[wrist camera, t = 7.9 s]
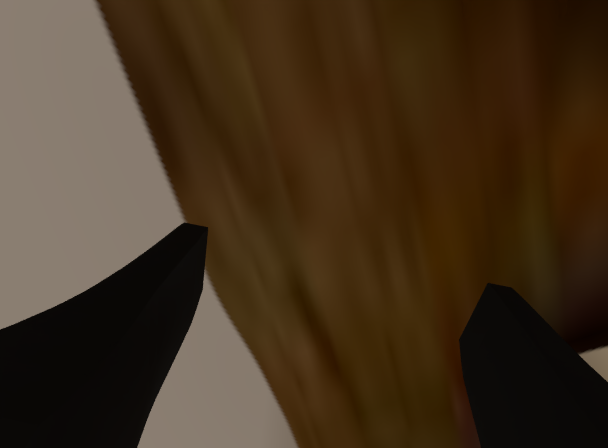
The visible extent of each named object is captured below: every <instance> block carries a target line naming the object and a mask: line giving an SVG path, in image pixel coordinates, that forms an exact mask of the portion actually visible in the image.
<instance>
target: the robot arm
mask: <svg viewBox="0 0 608 448" xmlns="http://www.w3.org/2000/svg"><path fill="white" fill-rule="evenodd" d="M207 235H208V227H204V226H199V225H194V224H189V223H183V224H181V225H180V226H178V227H177V228H176V229H175V230H173V231H172V232H171V233H169V234H168V235H167V236H165V237H164V238H163V239H162V240H160V241H159V242H158V243H156V244H155V245H154V246H152V247H151V248H150V249H149V250H147V251H146V252H144V253H143V254H142V255H140V256H139V257H137V258H136V259H135V260H133V261H132V262H130V263H129V264H128V265H126V266H125V267H123V268H122V269H120V270H118V271H117V272H115V273H114V274H112V275H111V276H109V277H108V278H106V279H104V280H103V281H101V282H100V283H98V284H96V285H95V286H93V287H91V288H90V289H88V290H86V291H84V292H83V293H81V294H79V295H77V296H75V297H73V298H71V299H69V300H67V301H65V302H63V303H61V304H59V305H57V306H55V307H53V308H51V309H48V310H46V311H44V312H42V313H39V314H37V315H35V316H32V317H30V318H27V319H26V320H23V321H21V322H18V323H16V324H14V325H11V326H9V327H6V328H3V329H1V330H0V448H137V446H138V444H139V441H140V438H141V435H142V432H143V430H144V427H145V424H146V421H147V418H148V416H149V413H150V411H151V409H152V406H153V404H154V402H155V399H156V397H157V395H158V393H159V391H160V389H161V387H162V384H163V382H164V380H165V378H166V376H167V374H168V372H169V370H170V368H171V366H172V363H173V361H174V359H175V357H176V355H177V353H178V351H179V349H180V347H181V345H182V343H183V340H184V338H185V336H186V334H187V332H188V330H189V327H190V325H191V323H192V320H193V317H194V314H195V311H196V308H197V305H198V302H199V299H200V296H201V293H202V290H203V280H204V268H205V257H206V246H207ZM459 342H460V353H461V363H462V371H463V378H464V382H465V386H466V390H467V394H468V398H469V402H470V406H471V410H472V414H473V418H474V421H475V425H476V429H477V433H478V437H479V441H480V445H481V448H608V382H607V381H606V380H605V379H604V378H603V377H602V376H600V375H599V374H598V373H597V372H596V371H595V370H594V369H593V368H592V367H591V366H589V365H588V364H587V363H586V362H585V361H584V360H583V359H582V358H581V357H580V356H579V355H578V354H577V353H576V352H575V351H574V350H573V349H572V348H571V347H570V346H569V345H568V344H567V343H566V342H565V341H564V340H563V339H562V338H561V337H560V336H559V335H558V334H557V333H556V332H555V331H554V330H553V329H552V327H551V326H550V325H549V324H548V323H547V322H546V321H545V320H544V319H543V318H542V317H541V316H540V315H539V314H538V313H537V312H536V311H535V310H534V309H533V308H532V307H531V306H530V305H529V304H528V303H527V302H526V301H525V300H524V299H523V298H522V297H521V296H520V295H519V294H518V293H517V292H516V291H515V290H513V289H512V288H511V287H506V286H501V285H496V284H491V283H488V284H487V286H486V288H485V290H484V292H483V294H482V296H481V298H480V300H479V302H478V303H477V305H476V307H475V309H474V311H473V313H472V315H471V317H470V319H469V321H468V323H467V325H466V327H465V329H464V331H463V333H462V335H461V337H460V339H459Z"/></svg>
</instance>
